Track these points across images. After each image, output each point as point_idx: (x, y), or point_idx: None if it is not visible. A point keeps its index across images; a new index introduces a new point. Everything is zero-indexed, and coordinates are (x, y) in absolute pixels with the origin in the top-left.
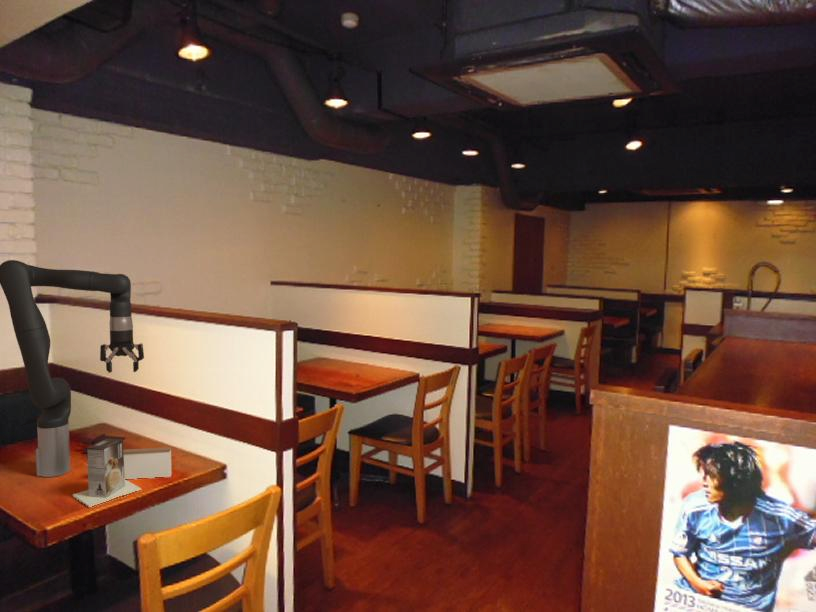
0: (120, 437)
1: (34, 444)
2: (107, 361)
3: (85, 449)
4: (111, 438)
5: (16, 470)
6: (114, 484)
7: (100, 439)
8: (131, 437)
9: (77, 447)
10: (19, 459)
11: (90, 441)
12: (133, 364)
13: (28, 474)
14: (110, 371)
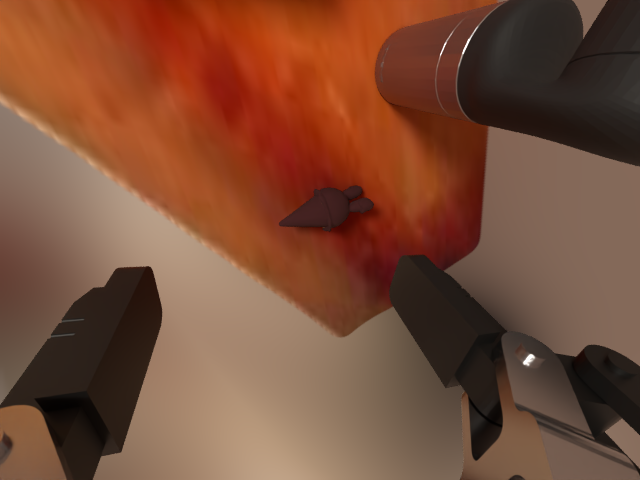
0: (290, 221)
1: (442, 253)
2: (527, 345)
3: (358, 191)
4: (310, 211)
5: None
6: None
7: (333, 200)
8: (280, 272)
9: (374, 228)
10: (466, 179)
11: (354, 202)
12: (100, 350)
13: None
14: (405, 265)
